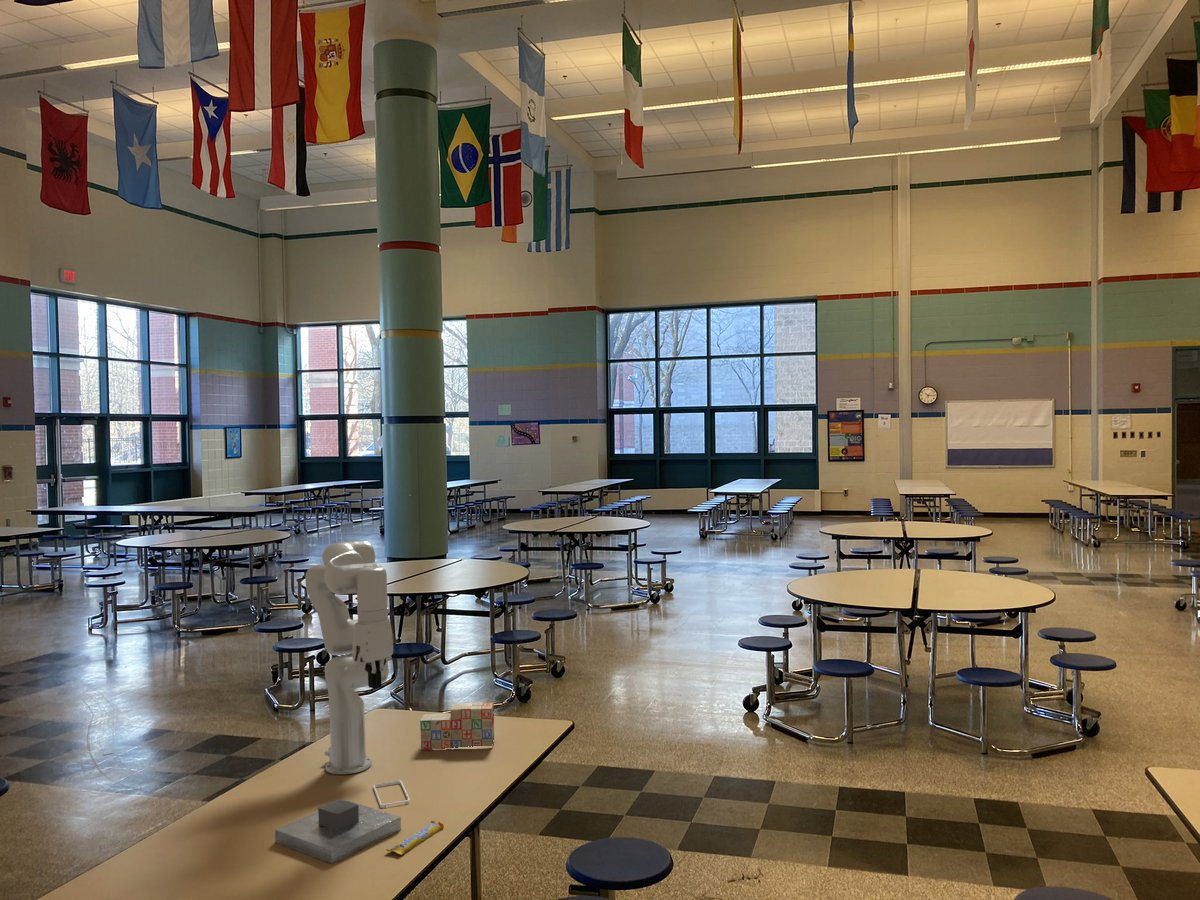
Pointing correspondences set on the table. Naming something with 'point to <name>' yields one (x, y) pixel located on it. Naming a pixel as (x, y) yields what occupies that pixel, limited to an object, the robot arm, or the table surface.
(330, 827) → the plug
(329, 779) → the table surface
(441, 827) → the candy bar
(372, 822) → the socket plate
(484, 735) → the stack of blocks
